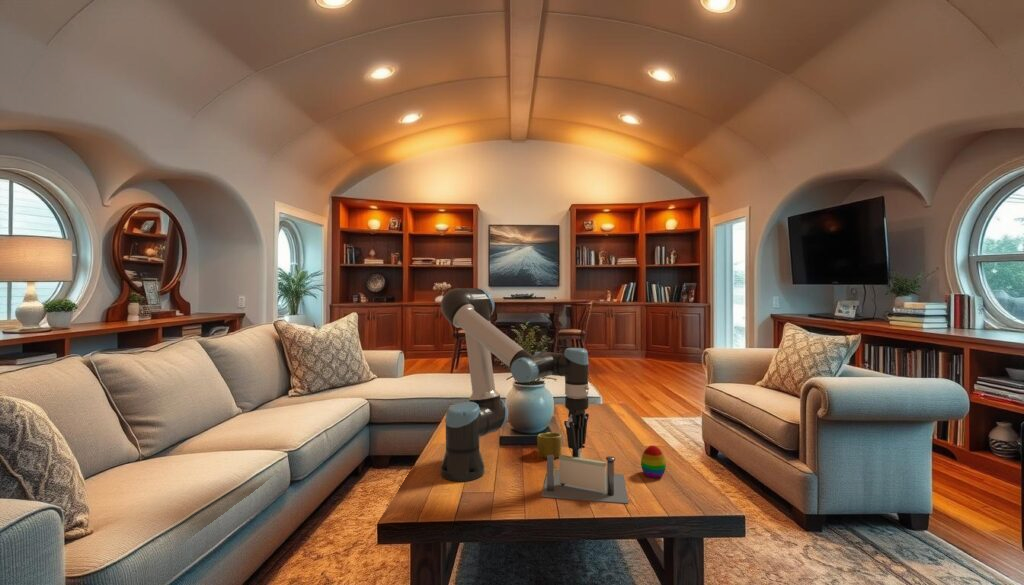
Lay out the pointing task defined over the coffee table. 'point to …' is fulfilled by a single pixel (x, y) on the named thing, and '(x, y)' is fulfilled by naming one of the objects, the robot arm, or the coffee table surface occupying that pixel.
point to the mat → (588, 491)
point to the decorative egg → (653, 462)
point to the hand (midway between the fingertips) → (577, 468)
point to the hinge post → (610, 475)
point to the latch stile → (550, 472)
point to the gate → (582, 472)
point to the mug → (549, 444)
